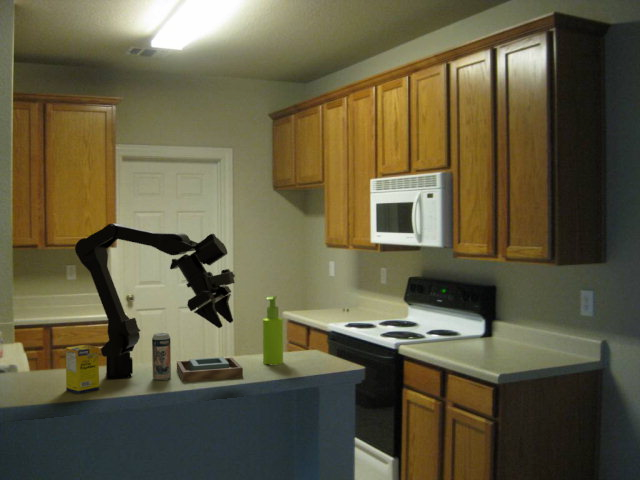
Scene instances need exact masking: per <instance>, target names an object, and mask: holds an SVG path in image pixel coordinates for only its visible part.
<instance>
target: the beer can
mask: <svg viewBox="0 0 640 480" xmlns="http://www.w3.org/2000/svg"><path fill="white" fill-rule="evenodd" d="M151 344H152V345H151V348H152V353H151V354H152V355H151V357H152V358H151V359H152V361H151V362H152V379H154V380H156V381H167V380H169V379H170V378H171V376H172V362H171V361H172V360H171V359H172V358H171V352H172V351H171V350H172V349H171V348H172V347H171V345H172V344H171V336H170V334H169V333H164V332H163V333H154V334H153V335H152V338H151Z"/></svg>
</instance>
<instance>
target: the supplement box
mask: <svg viewBox="0 0 640 480" xmlns="http://www.w3.org/2000/svg"><path fill="white" fill-rule="evenodd" d="M99 359H100V358H99V347H98V346H93V345H90V344H82V345H75V346H68V347H65V375H66V376H65V380H66V383H65V386H66V387H65V389H66V391H68V392H71V393H75V394H76V395H79V394H80V395H81V394H84V393H90V392H95V391H99V390H100V372H99V371H100V370H99V369H100V368H99V366H100V364H99Z"/></svg>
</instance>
